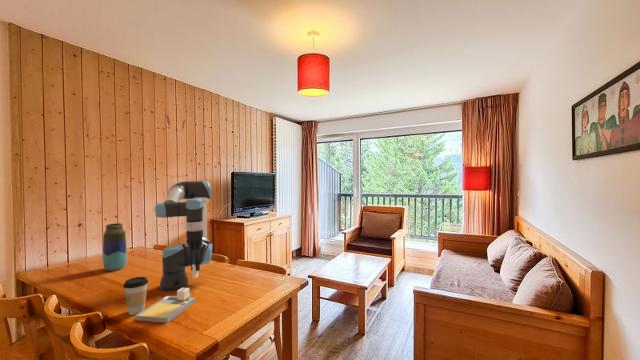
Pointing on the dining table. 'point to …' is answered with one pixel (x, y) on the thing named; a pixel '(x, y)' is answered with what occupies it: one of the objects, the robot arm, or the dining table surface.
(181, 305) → the panel
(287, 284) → the dining table surface
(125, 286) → the coffee cup
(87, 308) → the dining table surface
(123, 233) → the vase
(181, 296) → the breaker slider
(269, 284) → the dining table surface
